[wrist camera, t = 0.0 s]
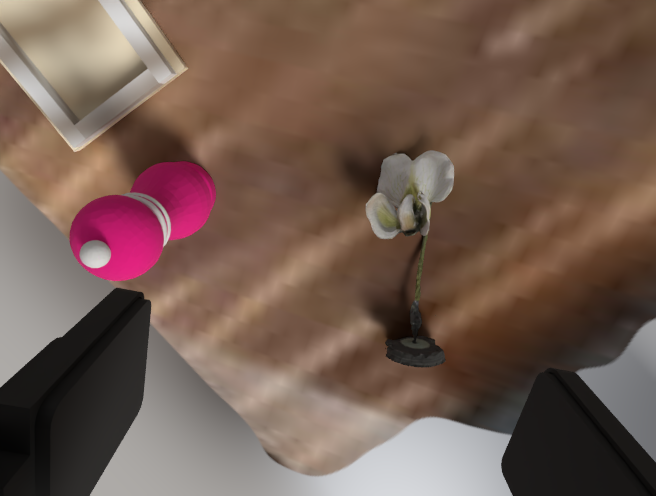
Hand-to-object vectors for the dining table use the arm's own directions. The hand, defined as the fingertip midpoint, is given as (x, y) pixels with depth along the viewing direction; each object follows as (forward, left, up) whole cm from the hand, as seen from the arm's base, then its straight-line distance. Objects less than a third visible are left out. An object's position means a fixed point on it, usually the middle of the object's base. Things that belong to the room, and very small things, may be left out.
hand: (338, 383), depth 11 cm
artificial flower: (+8, +10, -37) cm, 39 cm away
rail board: (-8, -27, -37) cm, 46 cm away
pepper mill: (+6, -14, -37) cm, 40 cm away
